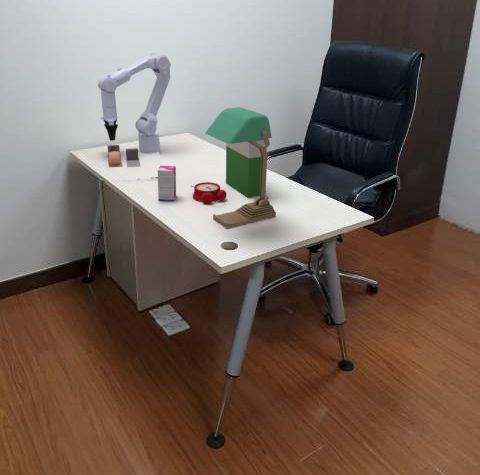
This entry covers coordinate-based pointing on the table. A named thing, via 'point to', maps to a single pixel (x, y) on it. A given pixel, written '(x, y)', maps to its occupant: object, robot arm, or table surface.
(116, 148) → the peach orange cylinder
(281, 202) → the table surface
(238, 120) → the banker's lamp
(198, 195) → the alarm clock
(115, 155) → the terracotta canister
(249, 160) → the hardback book
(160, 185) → the supplement box
